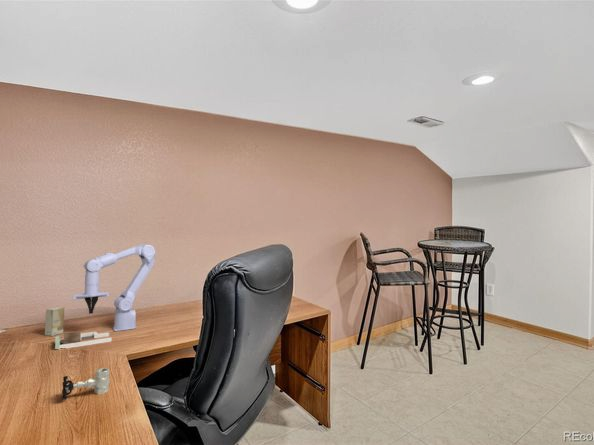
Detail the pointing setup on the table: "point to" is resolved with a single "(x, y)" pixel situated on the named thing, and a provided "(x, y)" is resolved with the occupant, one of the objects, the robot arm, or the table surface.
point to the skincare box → (54, 321)
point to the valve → (89, 383)
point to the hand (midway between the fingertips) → (90, 313)
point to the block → (72, 337)
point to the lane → (84, 336)
